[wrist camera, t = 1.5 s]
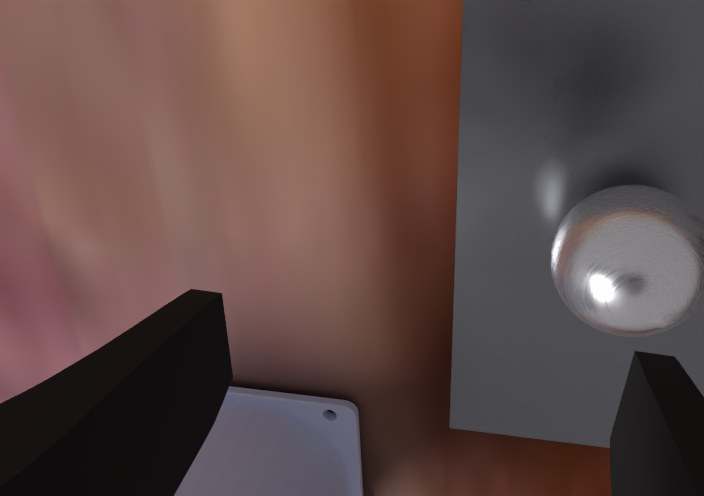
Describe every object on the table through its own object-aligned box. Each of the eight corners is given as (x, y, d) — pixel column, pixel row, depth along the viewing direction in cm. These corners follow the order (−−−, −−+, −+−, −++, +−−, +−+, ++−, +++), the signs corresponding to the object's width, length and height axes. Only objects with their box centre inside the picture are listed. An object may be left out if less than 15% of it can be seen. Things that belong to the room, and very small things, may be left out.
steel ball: (542, 278, 18) (545, 360, 15) (555, 157, 16) (561, 225, 13) (681, 288, 17) (713, 377, 14) (710, 164, 15) (753, 236, 12)
